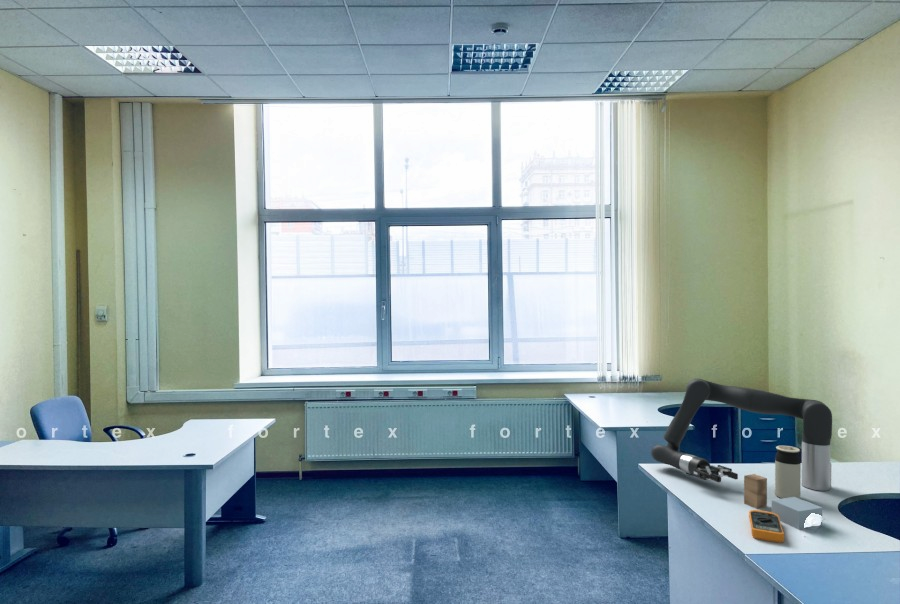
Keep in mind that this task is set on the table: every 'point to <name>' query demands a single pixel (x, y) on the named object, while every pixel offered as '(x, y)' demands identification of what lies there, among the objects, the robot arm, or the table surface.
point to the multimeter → (766, 526)
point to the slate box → (794, 511)
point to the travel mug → (787, 472)
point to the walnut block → (755, 491)
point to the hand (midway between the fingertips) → (728, 478)
